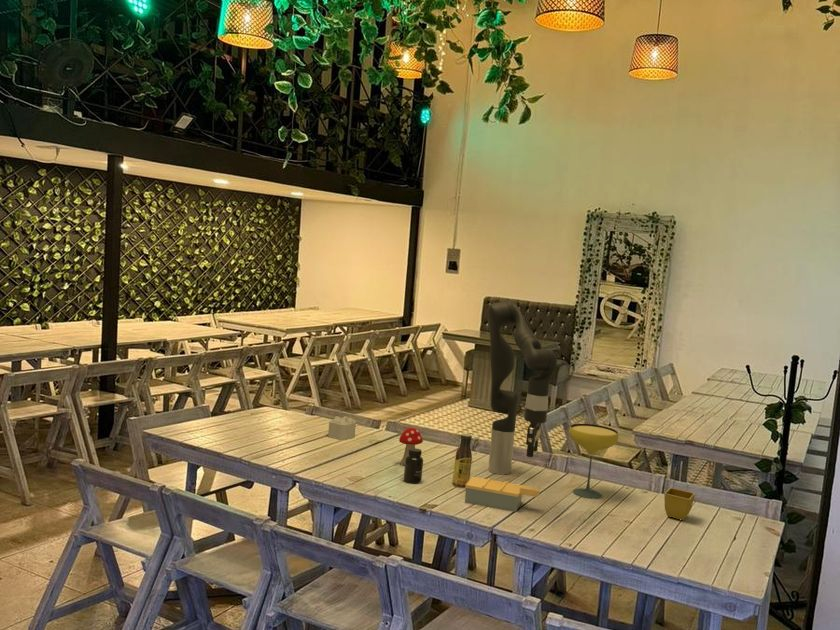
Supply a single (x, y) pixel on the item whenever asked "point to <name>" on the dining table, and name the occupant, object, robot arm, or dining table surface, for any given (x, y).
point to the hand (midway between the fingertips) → (531, 453)
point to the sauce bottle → (462, 462)
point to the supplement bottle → (413, 466)
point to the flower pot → (678, 503)
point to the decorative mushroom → (410, 440)
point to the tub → (492, 499)
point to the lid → (501, 487)
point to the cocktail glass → (592, 447)
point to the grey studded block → (342, 428)
